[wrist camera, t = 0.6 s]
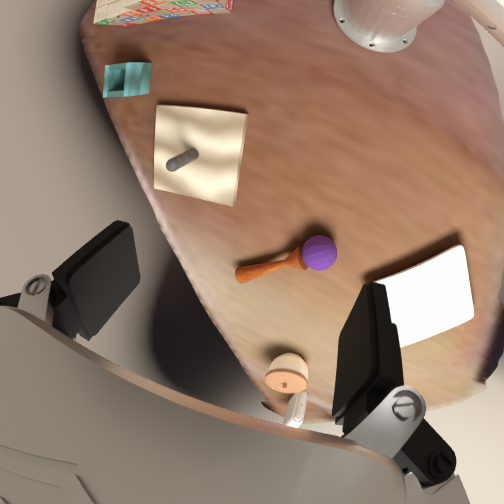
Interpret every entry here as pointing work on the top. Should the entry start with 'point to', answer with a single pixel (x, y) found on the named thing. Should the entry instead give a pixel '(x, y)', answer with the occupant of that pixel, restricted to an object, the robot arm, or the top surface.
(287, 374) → the lidded jar
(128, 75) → the open box
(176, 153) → the cream peg stand
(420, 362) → the top surface
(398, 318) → the salad plate
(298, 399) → the photo printer
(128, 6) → the stack of blocks
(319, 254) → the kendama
